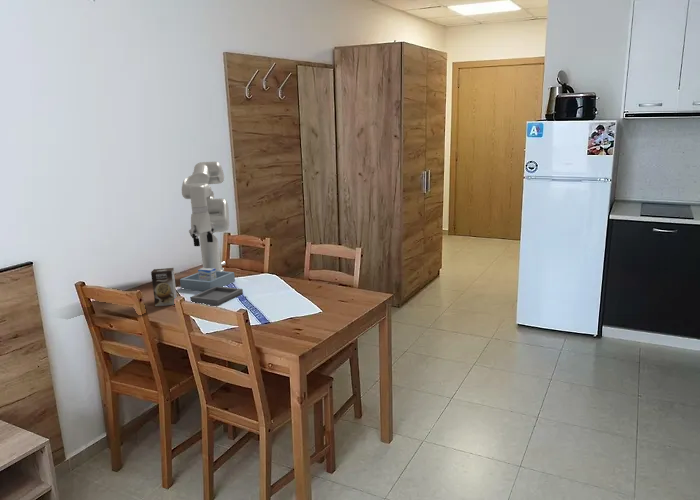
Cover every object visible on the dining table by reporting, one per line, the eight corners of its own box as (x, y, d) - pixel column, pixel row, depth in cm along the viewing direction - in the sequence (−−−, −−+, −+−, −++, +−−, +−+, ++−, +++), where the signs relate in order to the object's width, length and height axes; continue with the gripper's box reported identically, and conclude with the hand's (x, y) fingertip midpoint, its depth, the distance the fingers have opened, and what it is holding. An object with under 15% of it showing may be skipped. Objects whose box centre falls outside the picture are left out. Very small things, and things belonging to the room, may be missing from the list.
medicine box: (199, 286, 273) (197, 269, 271) (204, 283, 277) (202, 267, 275) (212, 287, 270) (210, 270, 268) (217, 284, 274) (215, 268, 272)
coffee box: (154, 306, 243) (150, 272, 239) (157, 302, 249) (153, 268, 246) (175, 304, 244) (171, 270, 241) (177, 300, 251) (173, 267, 247)
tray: (216, 291, 262) (215, 286, 262) (242, 293, 255) (242, 288, 255) (190, 302, 247) (190, 297, 246) (218, 305, 240) (217, 300, 239)
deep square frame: (206, 278, 286) (205, 269, 285) (235, 281, 277) (234, 272, 276) (181, 288, 269) (179, 279, 268) (210, 292, 261) (209, 282, 260)
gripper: (205, 207, 274) (209, 240, 278) (181, 212, 259) (185, 247, 262) (217, 207, 271) (220, 240, 274) (193, 213, 255) (197, 248, 259)
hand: (203, 244), depth 268 cm, fingers open, 9 cm apart
